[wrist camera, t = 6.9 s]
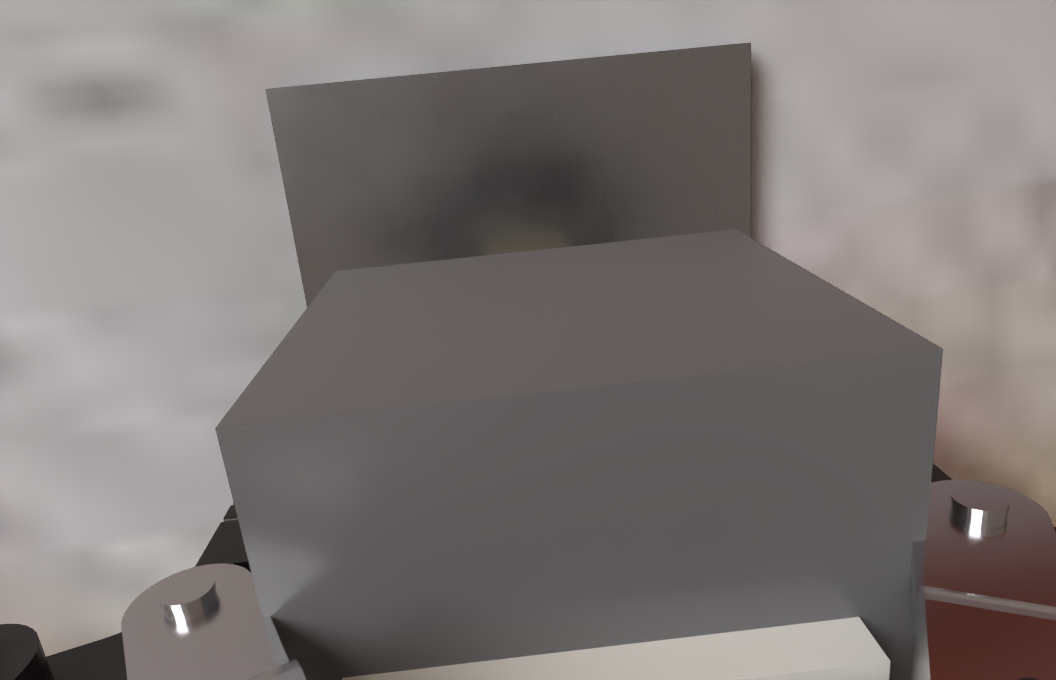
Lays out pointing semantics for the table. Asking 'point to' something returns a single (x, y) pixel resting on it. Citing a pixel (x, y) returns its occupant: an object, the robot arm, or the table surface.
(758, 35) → the table surface
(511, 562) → the grey box white handle
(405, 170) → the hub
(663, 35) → the table surface
